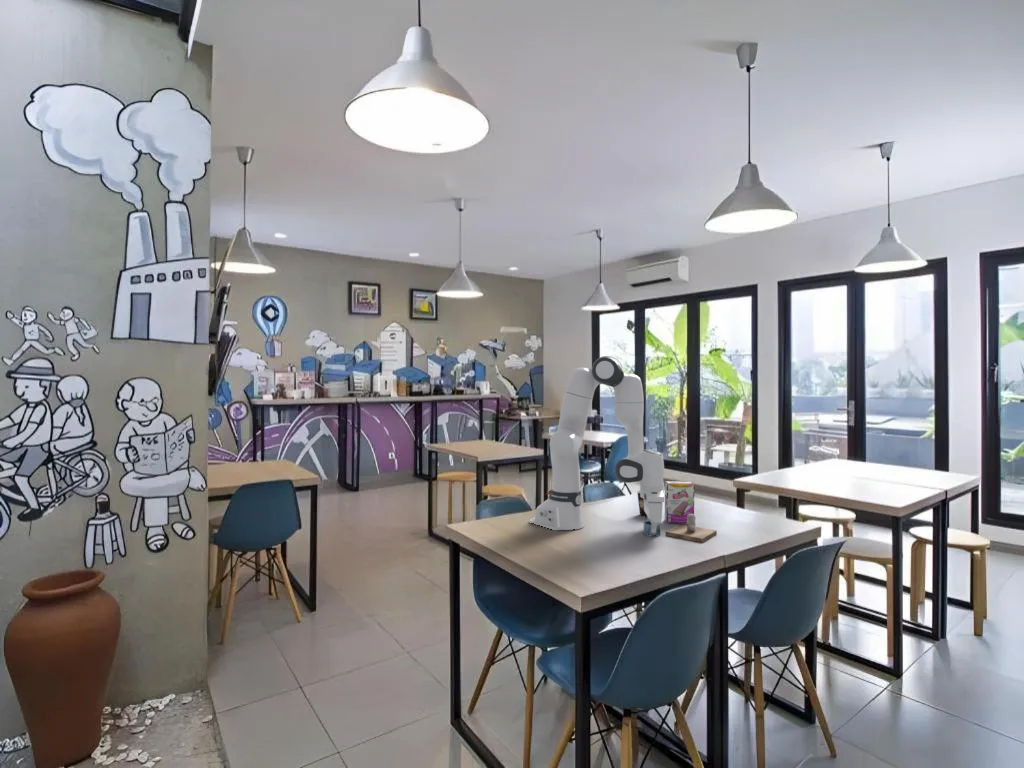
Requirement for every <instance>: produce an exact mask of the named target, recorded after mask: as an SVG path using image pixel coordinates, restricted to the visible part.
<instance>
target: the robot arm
mask: <svg viewBox="0 0 1024 768" xmlns="http://www.w3.org/2000/svg"><path fill="white" fill-rule="evenodd" d="M598 385H605V386H608V387H611V388H612V389H613V392H614V413H615V419H616V421H617V422H618V423H620V424H621V425H622V426H623V428H624V429H625V430H626V435H627V446H628V448H627V449H628V453H627V456H626V457H623V458H622V459H620V460H618V462H617V463H616V464H615V467H614V472H615V475H616V478H617V479H618V480H620V481H621V482H623V483H629V484H631V483H636V482H638V483H639V491H640V497H641V498H643V499H644V511H645V513H646V515H647V517H646V518H647V521H650V522H651V532H653V533H655V532H656V527H657V523H660V524H661V523H662V519H663V518H662V517H663V505H664V504H663V503H665V482H664V478H665V477H664V476H665V462H664V461H665V460H664V457H663V455H662V453H661V452H659V451H658V450H653V449H647V448H646V449H645V435H644V411H645V409H644V408H645V404H644V401H645V399H644V397H645V396H644V390H643V383H642V379H641V377H640V376H638V375H637V374H634V373H627V372H624V369H623V366H622V364H621V363H620V361H619V360H618V359H617V358H616V357H614V356H610V355H605V356H600V357H599V358H597V359H596V360H595V361H594V362H593V364H592V366H591V367H585V366H584V367H576V368H575V369H574V370H573V371H572V374H571V376H570V377H569V380H568V383H567V386H566V388H565V392H564V396H563V399H562V403H561V407H560V413H559V421H558V424H557V425H558V426H557V430H556V431H555V432H553V433H552V435H551V437H550V439H549V449H550V450H549V451H550V462H551V471H552V475H551V477H552V478H551V479H552V485H551V486H552V489H550V490H547V491H546V495H549V496H548V498H547V499H546V500H544V501H542V503H541V504H539V505H538V506H537V507H536V509H535V513H534V517H531V518H530V519H529V522H531V523H534V524H537V525H540V526H539V527H541V526H543V527H542V528H544V527H546V528H545V529H547V528H549V529H548V530H550V529H552V530H551V531H574V530H573V529H575V530H579V529H583V528H584V527H585V524H584V521H583V515H582V507H581V505H582V490H581V469H580V460H579V458H580V457H579V450H580V449H581V447H582V445H583V440H584V436H585V431H586V427H587V422H588V417H589V412H590V411H591V410H590V409H591V406H592V402H593V399H594V394H595V390H596V389H597V387H598ZM531 523H530V524H531ZM534 524H533V525H534ZM537 525H536V526H537Z"/></svg>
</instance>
